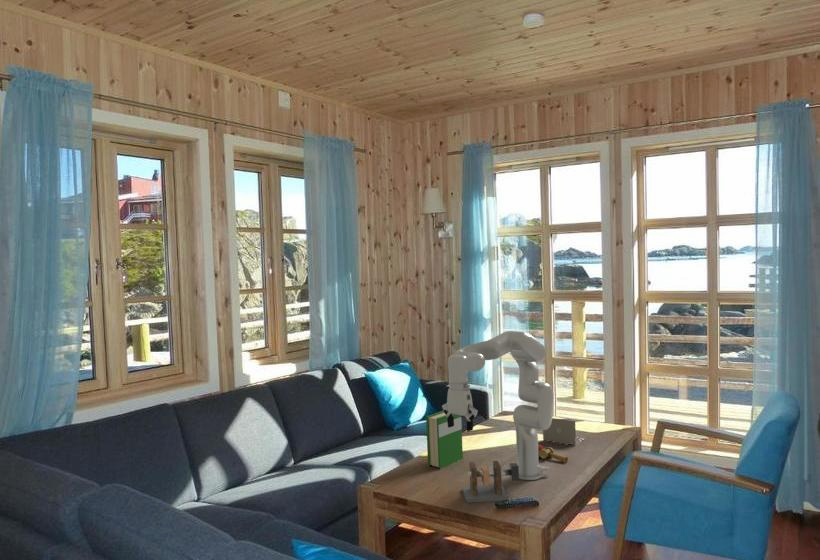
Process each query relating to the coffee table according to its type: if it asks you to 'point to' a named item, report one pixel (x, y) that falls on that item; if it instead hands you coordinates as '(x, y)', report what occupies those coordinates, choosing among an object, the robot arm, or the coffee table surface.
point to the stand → (496, 478)
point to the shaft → (503, 472)
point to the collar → (485, 475)
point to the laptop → (561, 431)
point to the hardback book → (443, 440)
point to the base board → (484, 494)
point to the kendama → (550, 454)
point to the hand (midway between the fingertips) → (460, 428)
